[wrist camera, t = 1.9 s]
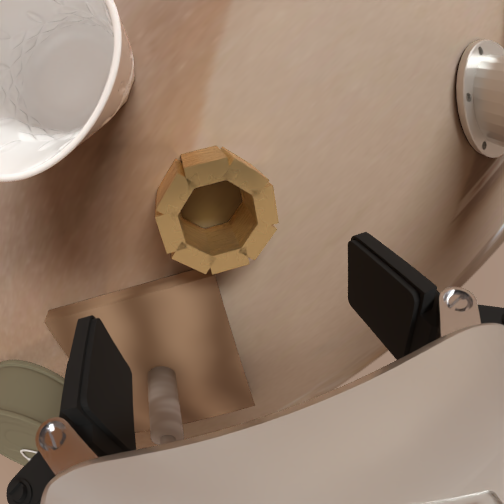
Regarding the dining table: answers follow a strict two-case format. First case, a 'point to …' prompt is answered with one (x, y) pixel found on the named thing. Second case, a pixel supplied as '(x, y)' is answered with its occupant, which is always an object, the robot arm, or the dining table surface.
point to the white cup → (58, 79)
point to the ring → (224, 235)
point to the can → (26, 406)
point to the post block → (168, 350)
